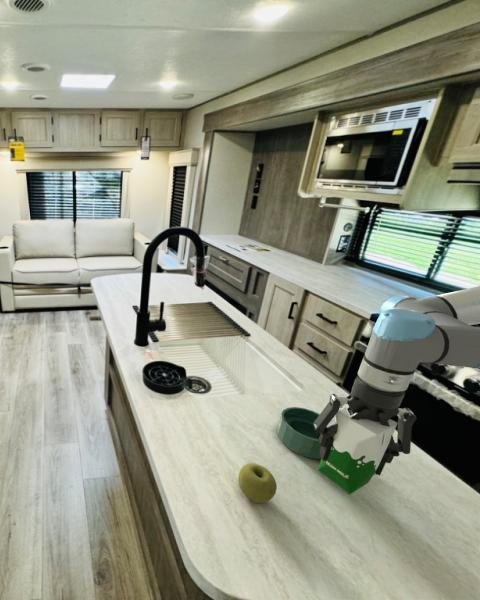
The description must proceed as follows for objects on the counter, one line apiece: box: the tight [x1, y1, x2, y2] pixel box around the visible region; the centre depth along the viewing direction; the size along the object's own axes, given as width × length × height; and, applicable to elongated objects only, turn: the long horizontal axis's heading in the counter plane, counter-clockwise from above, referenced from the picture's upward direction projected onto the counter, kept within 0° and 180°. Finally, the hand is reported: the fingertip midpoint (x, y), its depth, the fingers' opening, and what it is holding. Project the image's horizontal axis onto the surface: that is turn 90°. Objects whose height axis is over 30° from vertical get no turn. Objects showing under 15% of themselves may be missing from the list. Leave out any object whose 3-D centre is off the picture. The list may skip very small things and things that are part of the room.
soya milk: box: [317, 404, 398, 495], centre depth 70 cm, size 9×9×20 cm
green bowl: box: [276, 406, 322, 460], centre depth 87 cm, size 13×13×6 cm
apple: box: [237, 462, 278, 504], centre depth 72 cm, size 8×8×7 cm
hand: (348, 462), depth 72 cm, fingers closed on soya milk, 9 cm apart
